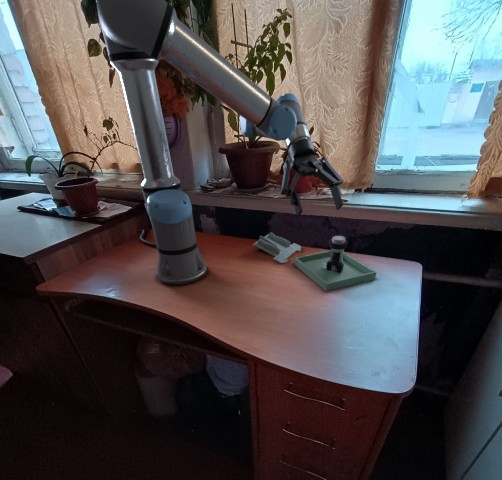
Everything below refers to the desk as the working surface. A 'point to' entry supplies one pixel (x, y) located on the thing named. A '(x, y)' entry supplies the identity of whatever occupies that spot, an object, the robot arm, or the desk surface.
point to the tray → (334, 280)
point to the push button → (336, 254)
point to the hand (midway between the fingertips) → (320, 210)
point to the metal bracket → (277, 247)
